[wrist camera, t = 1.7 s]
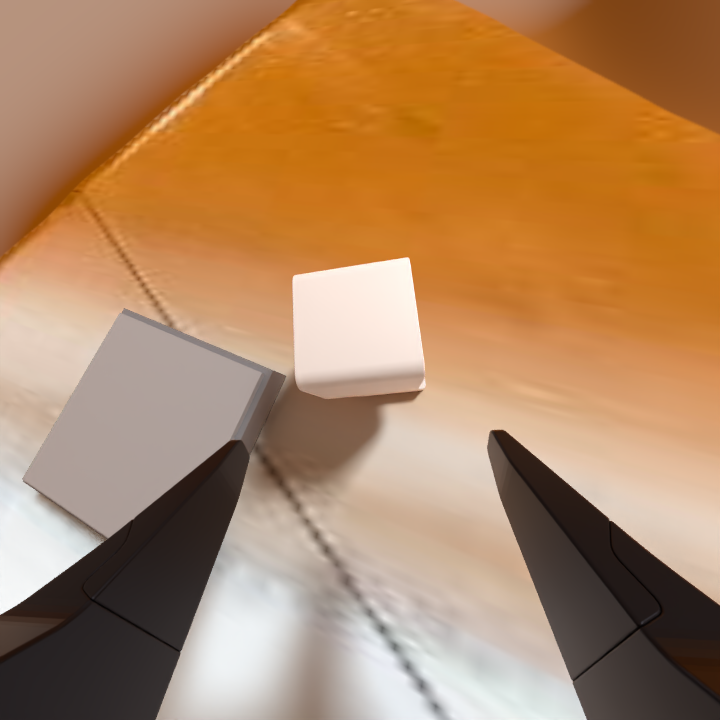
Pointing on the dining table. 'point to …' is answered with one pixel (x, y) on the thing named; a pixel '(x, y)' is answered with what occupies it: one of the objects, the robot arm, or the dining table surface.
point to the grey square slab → (147, 421)
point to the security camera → (357, 331)
